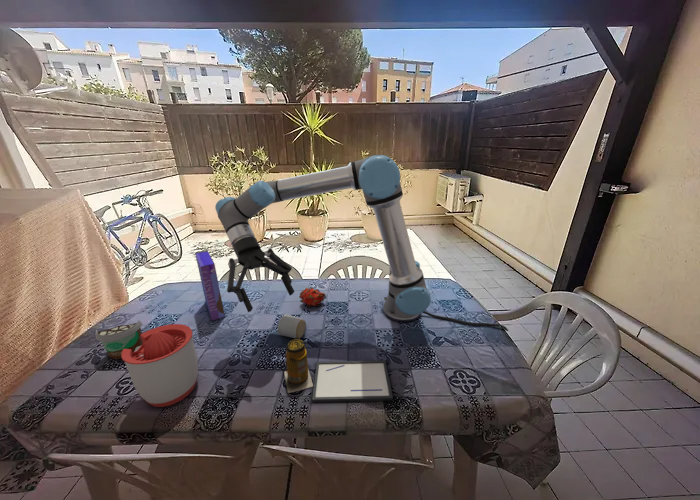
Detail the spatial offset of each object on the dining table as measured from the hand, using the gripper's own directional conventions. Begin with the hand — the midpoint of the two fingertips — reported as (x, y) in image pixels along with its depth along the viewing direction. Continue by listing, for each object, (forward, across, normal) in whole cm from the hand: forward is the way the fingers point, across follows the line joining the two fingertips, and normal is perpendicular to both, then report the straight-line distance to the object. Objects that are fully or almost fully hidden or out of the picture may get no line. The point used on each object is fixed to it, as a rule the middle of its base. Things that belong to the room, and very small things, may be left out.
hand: (272, 301), depth 80 cm
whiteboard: (+31, -11, 0) cm, 33 cm away
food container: (-11, +36, -43) cm, 57 cm away
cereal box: (-17, +4, -49) cm, 52 cm away
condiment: (+23, 0, -8) cm, 25 cm away
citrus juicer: (+8, +28, -24) cm, 38 cm away
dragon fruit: (+2, -29, -30) cm, 41 cm away
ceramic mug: (+10, -11, -22) cm, 26 cm away
